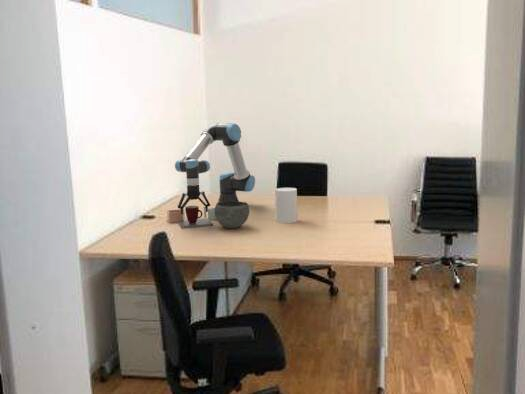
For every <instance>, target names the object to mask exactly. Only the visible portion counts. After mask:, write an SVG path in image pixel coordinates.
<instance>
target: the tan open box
mask: <svg viewBox="0 0 525 394" xmlns="http://www.w3.org/2000/svg"><path fill="white" fill-rule="evenodd" d="M166 217H167V219H166V220H167V221H168V223H170V224H171V223H172V224H173V223H177V221H185V220H183V214H181V209H179V208H177V209H167V210H166Z"/></svg>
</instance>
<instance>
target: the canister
mask: <svg viewBox="0 0 525 394" xmlns="http://www.w3.org/2000/svg"><path fill="white" fill-rule="evenodd" d="M297 190H298V189H297V188H296V187H278V188H275V189H274V194H275V195H274V197H275V198H274V199H275V222H277V223H279V224H280V223H281V224H292V223H296V222H298V191H297Z"/></svg>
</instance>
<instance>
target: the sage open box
mask: <svg viewBox="0 0 525 394" xmlns="http://www.w3.org/2000/svg"><path fill="white" fill-rule="evenodd" d="M207 219H209V220H212V221H215V222H218V221H217V219H216V217H215V207H211V208H208V212H207Z"/></svg>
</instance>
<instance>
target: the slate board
mask: <svg viewBox="0 0 525 394" xmlns="http://www.w3.org/2000/svg"><path fill="white" fill-rule="evenodd" d="M176 224H177V225H179V227H180V229H191V228H192V227H193V228H201V227H213V226H214V223H213V222H212V221H211V219H209V218H198V219H197V221H196V223H189V221H188V219H187V220H186V219H185V220H184V221H177V222H176Z"/></svg>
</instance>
